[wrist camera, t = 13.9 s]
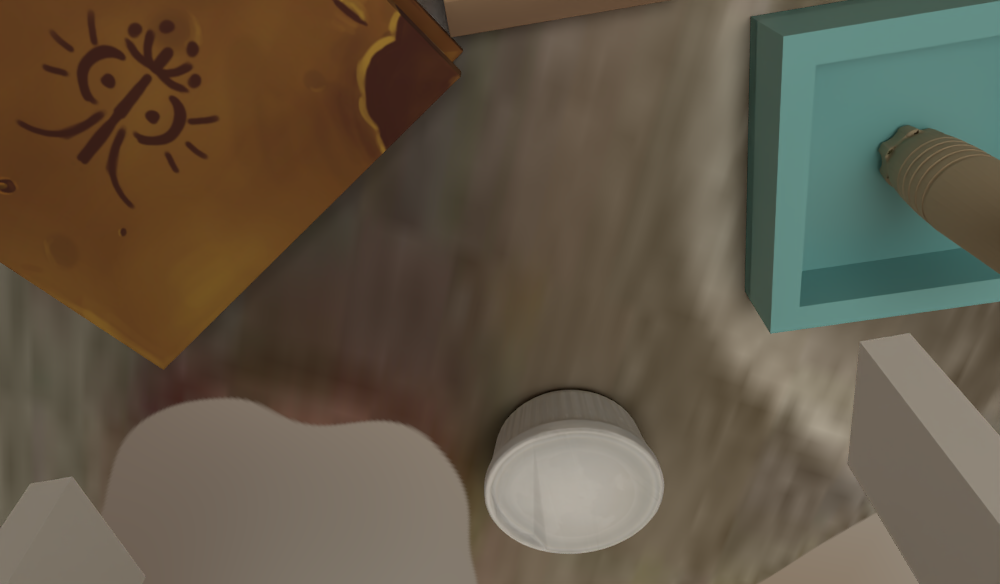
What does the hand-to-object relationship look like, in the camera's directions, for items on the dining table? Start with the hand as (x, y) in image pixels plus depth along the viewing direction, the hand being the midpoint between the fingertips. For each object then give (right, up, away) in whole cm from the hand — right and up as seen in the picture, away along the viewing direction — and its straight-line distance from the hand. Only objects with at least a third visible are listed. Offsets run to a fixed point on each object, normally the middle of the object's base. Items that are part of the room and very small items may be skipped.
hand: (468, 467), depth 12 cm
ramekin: (+5, -7, +38) cm, 39 cm away
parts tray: (+22, +11, +27) cm, 36 cm away
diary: (-16, +14, +25) cm, 33 cm away
